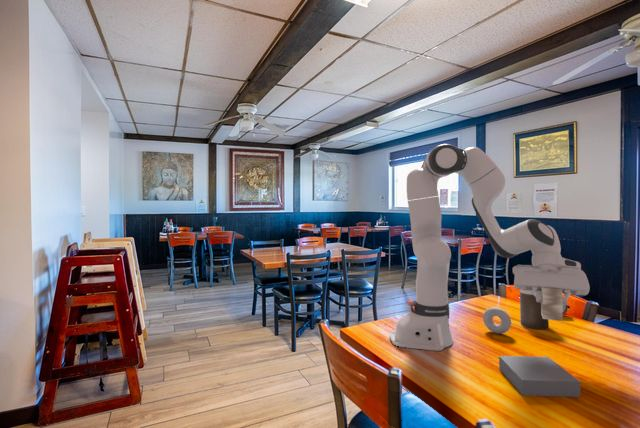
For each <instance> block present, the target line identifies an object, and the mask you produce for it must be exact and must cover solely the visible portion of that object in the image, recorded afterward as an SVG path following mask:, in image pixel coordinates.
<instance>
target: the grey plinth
mask: <svg viewBox="0 0 640 428" xmlns="http://www.w3.org/2000/svg"><path fill="white" fill-rule="evenodd" d="M498 364H499V365H498V369H499V370H500V372H501V373H502V374H503V375H504V377H506V379H508V381H509V382H510V383H511V384H512V385H513V386H514V388H516V390H517V391H518V392H519V393H520V394H521V396H532V397H534V396H535V397H536V396H537V397H538V396H539V397H561V398H563V397H567V398H581V381H580V380H579V379H577V378H576V377H575V376H574V375H572V374H570V372H569V371H567V370H566V369H565V368H564V367H562V366H561V365H559V364H558V363H557V362H556V361H555V360H554V359H552V358H551V357H549V356H525V355H524V356H523V355H522V356H521V355H520V356H517V355H498Z"/></svg>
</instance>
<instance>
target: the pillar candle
mask: <svg viewBox="0 0 640 428" xmlns="http://www.w3.org/2000/svg"><path fill="white" fill-rule="evenodd" d="M537 293H538V294H539V295H541V291H537ZM519 311H520V312H519V313H520V314H519V315H520V319H519V320H520V325H521V326H522V327H525V328H529V329H534V330H542V331H543V330H547V329H549V328H550V327H549V319H543V318H542V315H541V302H537V300H536V297H535V296H534V295H533V294H532V291H530V290H520V291H519Z"/></svg>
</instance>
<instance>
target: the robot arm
mask: <svg viewBox="0 0 640 428" xmlns="http://www.w3.org/2000/svg"><path fill="white" fill-rule="evenodd" d="M454 173H455V174H458V175H459V176H461V177H462V178H463V179H464V181H465V182H466V184H468V187H470V190H471V193H472V198H471V204H472V207H473V209H474V212H475V215H476V216H477V218H478V220H479V223H481V225H482V227H483V229H484V231H485V233H486V235H487V238H488V239H489V242H490V245H491V248H492V250H493V252H494V253H495V254H496V255H498V256H500V257H501V258H506V259H511V258H513V257H515V256H518V255H520V254H521V253H522V254H523V253H525V252H528V251H531V254H532V256H531V264H517V265H514V266H513V267H512V274H513V275H514V278H513V279H514V280H513V281H514V282H513V287H514V288H515V289H516V290H520V291H521V290H530V291H532V294H533V295H534V296H535V297H536V300H537V302H542V295H539V294H538V293H537V291H541V287H545V288H557V289H561V291H562V292H563V296H564V297H563V305H567V306H568V299H569V298H570V296H571V295H577V296H587V295H588V294H589V292H590V288H591V286H590V283H589V280H588V277H587V274H586V273H585V271H584V270H582V264H581V262H579V261H576V260H571V259H568V258H565V257H562V254H561V250H562V247H561V243H560V242H561V241H560V239H559V235H558V234H557V231H556V230H555V228H553V226H551V225H548V224H546V223H545V222H542V221H541V220H539V219H534V218H529V219H527V220H524V221H522V222H519V223H517V224H515V225H512V226H511V227H508V228H506V229H503V228H501V227H500V225H499V222H498V221H497V219H496V217H495V216H494V213H493V211H492V205H493V203H494V202H495V201H496V200H497V199H498V197H499V196H500V194H501V193H502V192H503V191H504V188H505V186H506V178H505V176H504V174H503V172H502V171H501V169H500V168H499V166H498V165H497V164H496V163H495V162H494V161H493V159H492V158H491V157H490V156H489V155H488V154H487V153H486V152H484V151H483V149H481V148H479V147H478V146H471V147H467V148H465V149H462V148H459V147H457V146H455V145H452V144H449V143H443V144H438V145H436V146H435V147H433V148H432V149H431V150H430V151H429V152H428V153H427V155H426V156H425V157H424V160H423V163H422V165H421V167H419V168H416V169H413V170H411V171H410V172H409V173H408V174H407V177H406V197H407V198H406V199H407V205H408V210H409V211H408V213H409V218H410V231H411V242H412V249H413V253H414V256H415V257H416V260H417V265H416V276H415V277H416V278H415V299H416V300H415V301H413V300H412V299H409V300H408V301H407V304H408V306H409V307H410V311H409V312H408V313H406V314H404V315H403V316H402V317H400V318H399V319H398V320H397V323H396V327H395V329H394V330H392V331H391V332H390V335H389V339H391V340H390V342H391V341H392V342H391V344H393V345H394V346H395V345H396V346H395V347H397V346H399V347H398V348H405V347H406V348H407V349H415V350H417V349H418V350H427V351H436V352H440V351H443V350H444V348H445V349H446V348H447V347H450V346H452V345H453V344H454V340H453V336H452V331H451V328H450V321H449V319H450V304H449V302H448V281H449V280H448V279H449V272H450V264H451V263H450V261H451V259H452V252H451V248H450V246H449V244H448V243H447V241H445V240H444V239H443V237H442V217H443V216H442V210H441V204H440V203H441V202H440V197H439V190H438V183H439V180H440V179H441V178H444V177H447V176H449V175H451V174H454Z"/></svg>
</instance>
